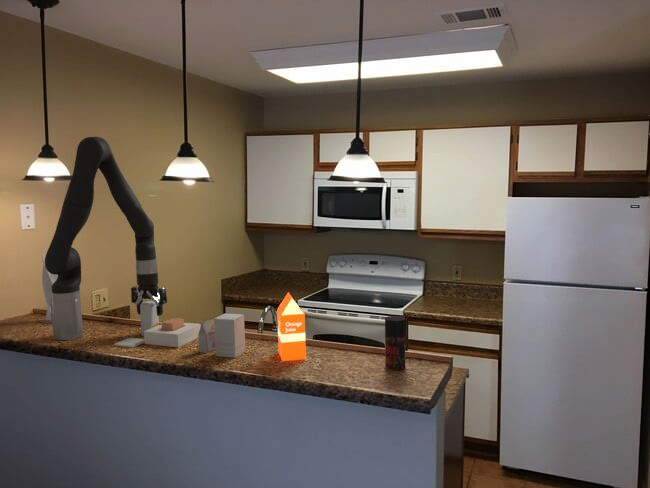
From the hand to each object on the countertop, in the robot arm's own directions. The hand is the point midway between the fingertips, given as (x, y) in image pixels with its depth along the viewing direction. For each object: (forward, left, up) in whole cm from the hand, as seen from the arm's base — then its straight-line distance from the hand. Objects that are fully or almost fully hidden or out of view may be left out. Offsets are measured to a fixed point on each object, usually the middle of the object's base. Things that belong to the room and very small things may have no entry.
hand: (150, 314), depth 201 cm
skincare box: (0, 0, -8) cm, 8 cm away
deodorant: (+95, -9, -8) cm, 95 cm away
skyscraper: (-52, +5, -8) cm, 53 cm away
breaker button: (+13, -4, -4) cm, 14 cm away
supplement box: (+41, -12, -8) cm, 43 cm away
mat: (+1, -12, -7) cm, 14 cm away
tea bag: (+32, -10, -8) cm, 34 cm away
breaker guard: (+13, -4, -7) cm, 15 cm away
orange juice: (+61, -8, -8) cm, 62 cm away
